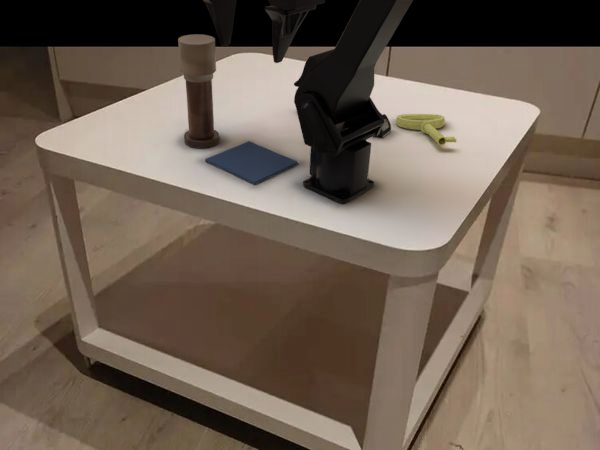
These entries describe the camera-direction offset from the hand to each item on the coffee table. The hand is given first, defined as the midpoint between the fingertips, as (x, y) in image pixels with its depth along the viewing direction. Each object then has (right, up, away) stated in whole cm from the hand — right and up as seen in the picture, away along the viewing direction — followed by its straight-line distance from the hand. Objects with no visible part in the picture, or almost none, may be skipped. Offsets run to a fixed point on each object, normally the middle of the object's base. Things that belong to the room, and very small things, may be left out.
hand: (250, 53), depth 77 cm
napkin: (0, -13, +3) cm, 14 cm away
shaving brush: (-7, -10, +8) cm, 15 cm away
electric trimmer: (+12, -6, +16) cm, 21 cm away
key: (+25, -8, +14) cm, 29 cm away
